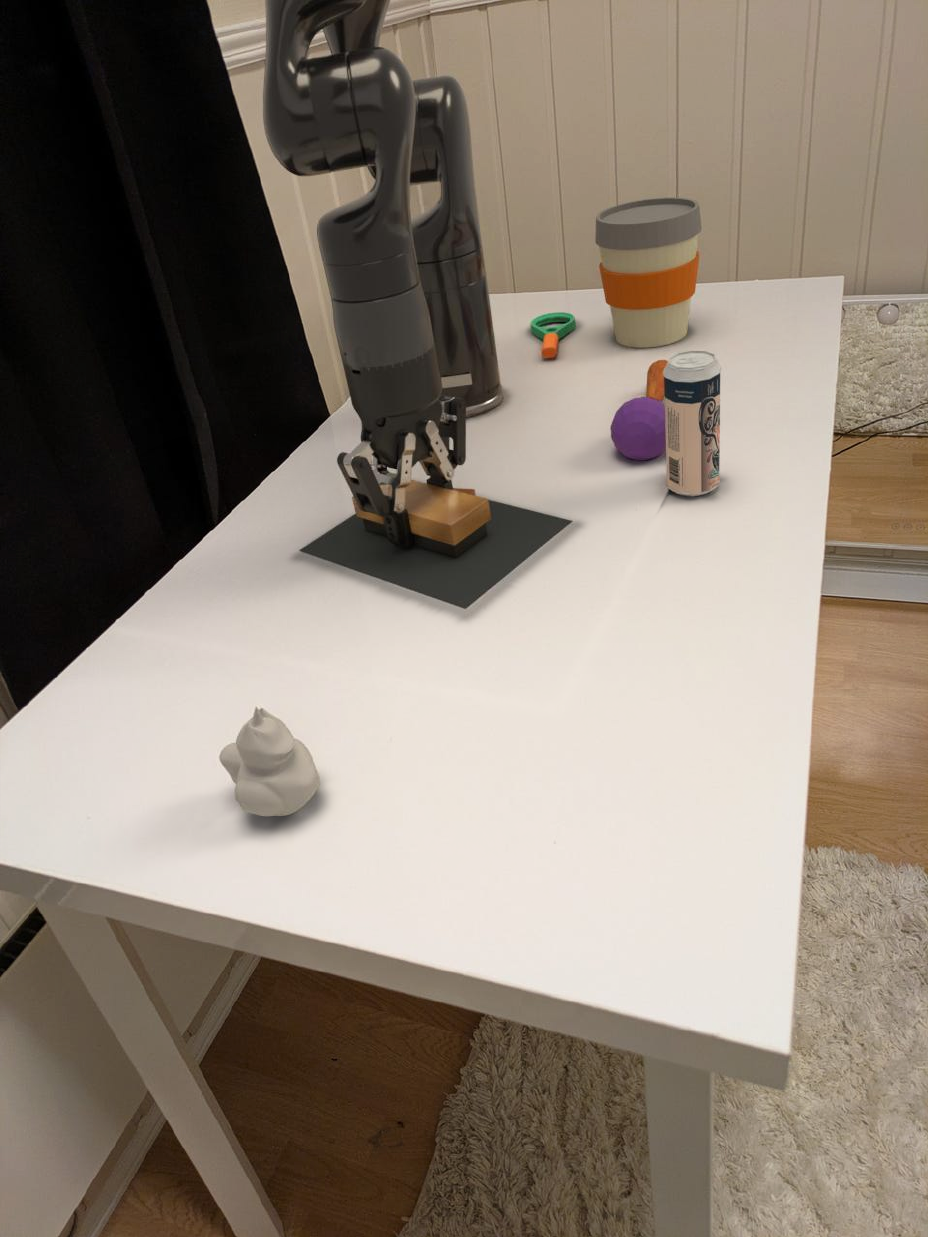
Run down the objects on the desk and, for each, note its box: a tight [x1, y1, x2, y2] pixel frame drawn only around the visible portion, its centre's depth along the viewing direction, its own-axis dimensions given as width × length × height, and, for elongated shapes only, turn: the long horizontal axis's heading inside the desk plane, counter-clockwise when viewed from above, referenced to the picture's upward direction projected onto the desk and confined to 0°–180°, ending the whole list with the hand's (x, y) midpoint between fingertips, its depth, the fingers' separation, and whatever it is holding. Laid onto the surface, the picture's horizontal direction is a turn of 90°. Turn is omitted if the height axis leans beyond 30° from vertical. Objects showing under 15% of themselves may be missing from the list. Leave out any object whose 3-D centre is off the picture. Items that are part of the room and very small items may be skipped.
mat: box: [298, 499, 573, 610], centre depth 82 cm, size 20×15×1 cm
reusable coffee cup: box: [594, 196, 703, 349], centre depth 112 cm, size 13×13×15 cm
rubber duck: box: [218, 706, 321, 817], centre depth 56 cm, size 5×7×8 cm
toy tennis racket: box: [530, 311, 577, 359], centre depth 120 cm, size 15×6×2 cm, turn 173°
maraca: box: [610, 359, 668, 461], centre depth 93 cm, size 6×6×20 cm
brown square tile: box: [453, 487, 476, 496], centre depth 86 cm, size 4×4×1 cm
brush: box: [351, 479, 491, 558], centre depth 81 cm, size 12×5×4 cm, turn 50°
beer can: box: [663, 350, 722, 497], centre depth 79 cm, size 5×5×12 cm
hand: (423, 530), depth 82 cm, fingers closed on brush, 5 cm apart
